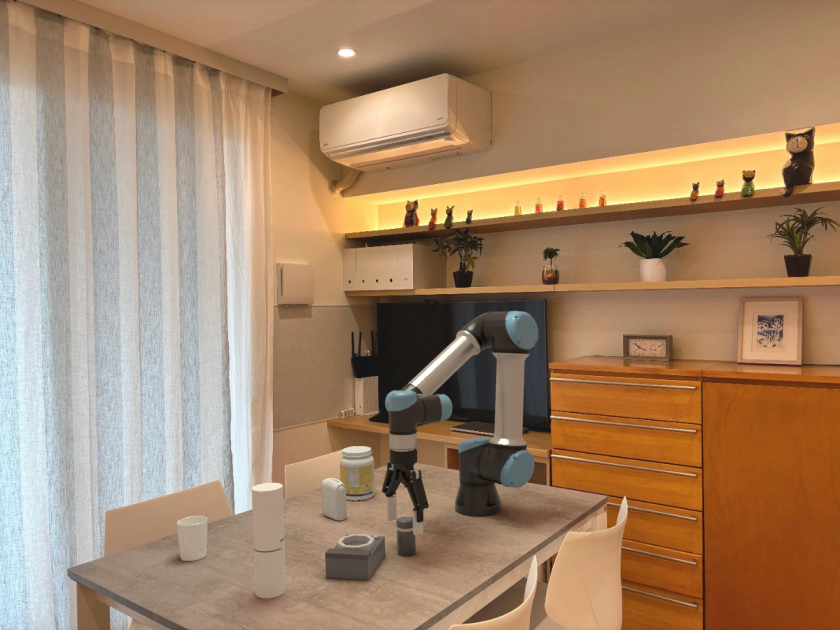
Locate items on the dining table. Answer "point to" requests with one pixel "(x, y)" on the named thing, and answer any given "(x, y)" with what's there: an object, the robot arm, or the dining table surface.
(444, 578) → the dining table surface
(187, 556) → the white cup
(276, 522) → the cylindrical container
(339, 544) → the camera body
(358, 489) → the supplement tub
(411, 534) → the lens
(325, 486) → the photo printer
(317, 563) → the dining table surface
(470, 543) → the dining table surface
